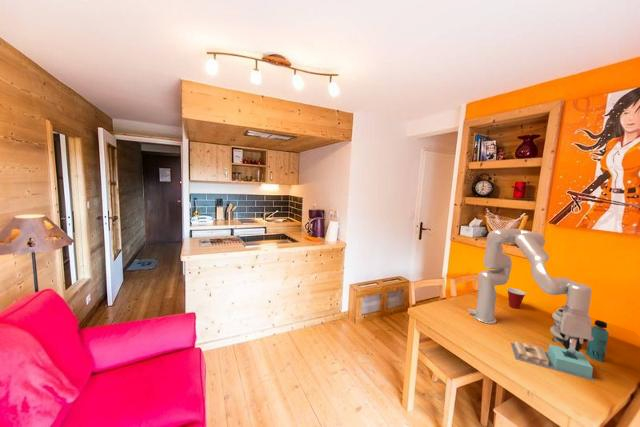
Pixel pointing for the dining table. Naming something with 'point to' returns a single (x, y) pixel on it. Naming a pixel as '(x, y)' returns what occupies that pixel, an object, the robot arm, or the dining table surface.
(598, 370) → the dining table surface
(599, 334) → the beverage bottle
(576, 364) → the teal dock
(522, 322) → the dining table surface
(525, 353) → the ash mount
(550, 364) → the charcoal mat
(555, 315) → the apothecary jar
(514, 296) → the plastic cup
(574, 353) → the steel pin
